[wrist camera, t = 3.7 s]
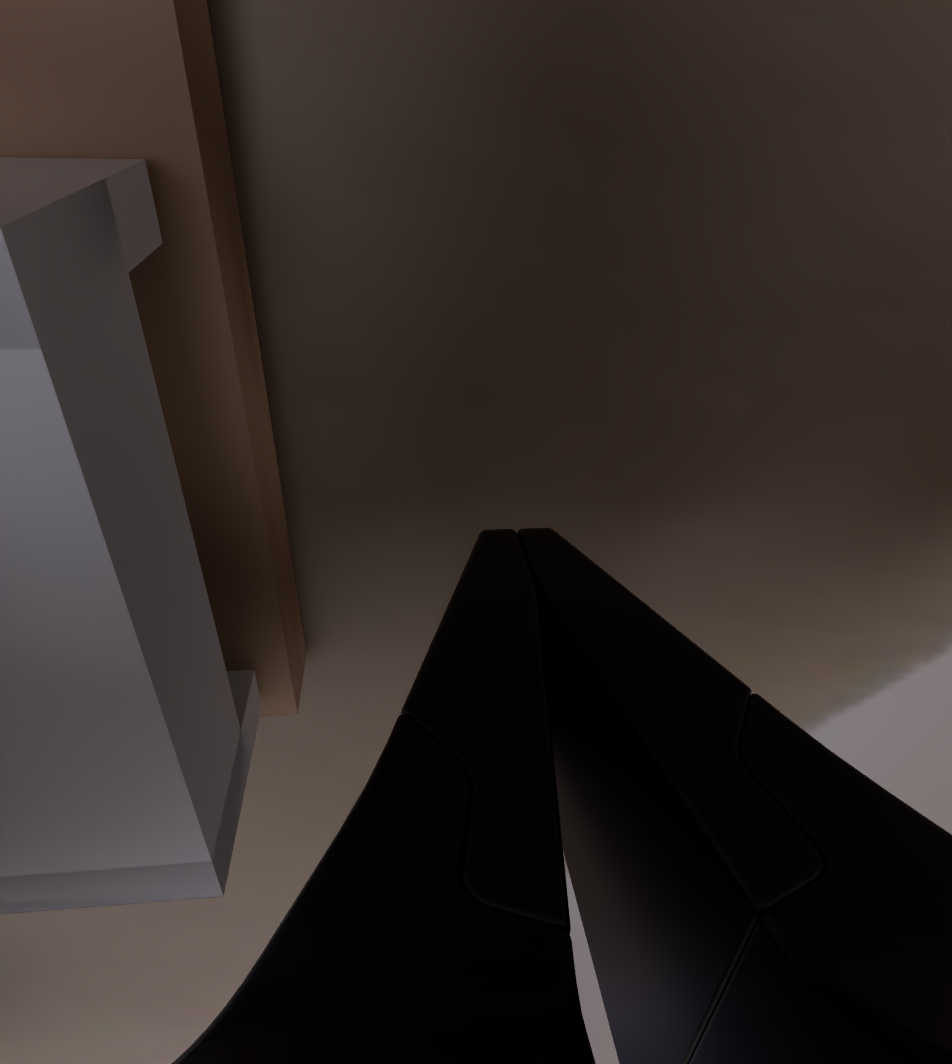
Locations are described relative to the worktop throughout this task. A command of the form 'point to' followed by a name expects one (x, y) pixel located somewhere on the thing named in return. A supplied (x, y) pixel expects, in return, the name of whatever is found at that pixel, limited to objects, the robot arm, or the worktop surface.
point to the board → (177, 285)
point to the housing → (100, 573)
